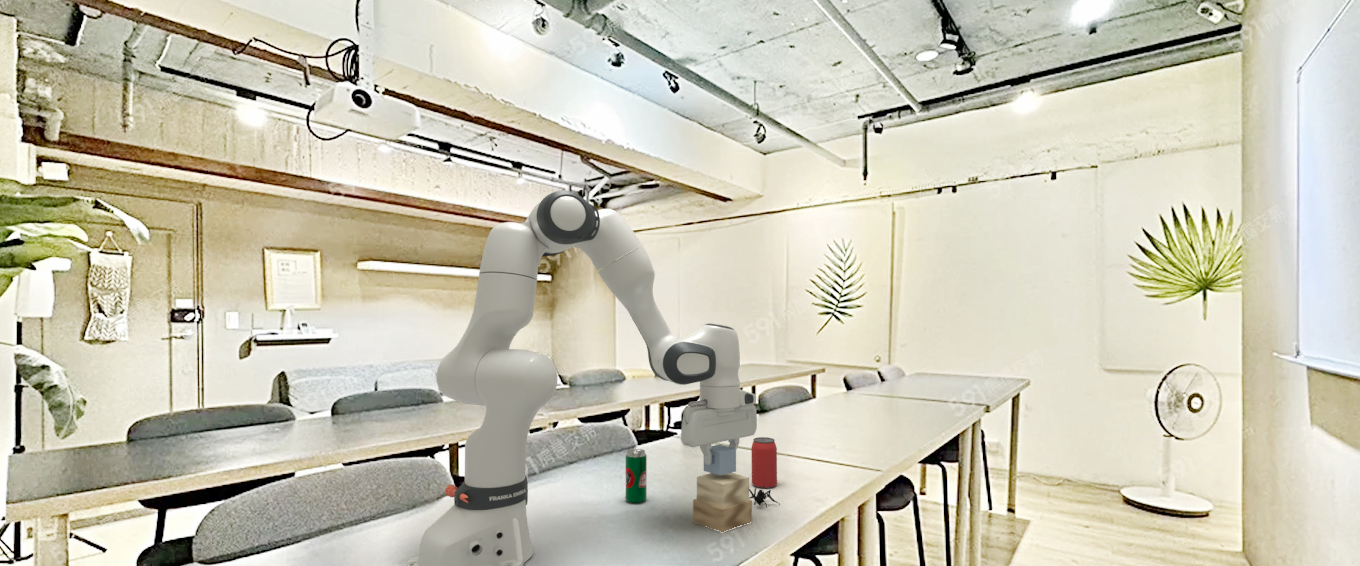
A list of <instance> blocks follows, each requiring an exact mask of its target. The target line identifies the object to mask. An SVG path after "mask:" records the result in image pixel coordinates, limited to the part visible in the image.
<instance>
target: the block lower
mask: <svg viewBox="0 0 1360 566" xmlns="http://www.w3.org/2000/svg"><path fill="white" fill-rule="evenodd" d="M751 500H752V499H750V500H749V501H747V502H744V503H741V504H737V505H734V506H731V507H728V508H725V509H722V508H719V507H716V506H713V505H710V504H707V503H704V502H701V501H699V500H697V498H694V499H692V521H693V523H695V524H697V523H698V525H701V526H702V525H703V526H702V527H705V526H707V527H706V528H708V527H709V528H708V529H710V528H712V529H711V530H713V529H716V530H719V531H721V532H724V531H726V530H729V529H732V528H734V527H737V526H740V525H744V524H747V523H750V522H752V523H753V520H752V519H753V515H752V514H753V511H752V508H753V507H752V505H753V504H752V501H751Z"/></svg>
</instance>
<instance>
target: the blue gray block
mask: <svg viewBox="0 0 1360 566" xmlns="http://www.w3.org/2000/svg"><path fill="white" fill-rule="evenodd" d="M709 450H710V452H711V455H714V456H715V459H714V461H715V463H714V464H710V465H707V464H705V463H704V462H703V471H704V472H707V473H708V474H710V473H713V474H716V475H719V476H720V475H724V474H728V473H735V472H737V449H736V448H732V447H729V445H728V446H727V445H723V444H716V445H711V449H709Z"/></svg>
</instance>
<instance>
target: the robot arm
mask: <svg viewBox="0 0 1360 566" xmlns="http://www.w3.org/2000/svg"><path fill="white" fill-rule="evenodd" d="M572 248H577V249H579V250H581V252H583V253H584V254H585V255H586V256H587V257H588V258H589V259H590V261H591V263H592V264H593V266H594V268H595V270H596V271H597V273H598V275H599V276H600V279H601V280H602V281H603V282H604V284H605V285H606V287H607V288H608V289H609V290H610V292H611V293H612V294H613V295H614V296H615V298H616V299H617V300H618V301H619V303H621V304H622V306H624V308H625V309H626V311H627V312H628V314H629V315H630V317H631V319H632V321H633V323H634V325H635V326H636V328H637V330H638V331H639V333H640V335H641V337H642V339H643V340H644V342H645V345H646V349H647V356H648V363H649V366H650V367H649V368H650V369H651V372H653V374H654V375H655V376H656V377H658V378H659V379H661V380H662V381H666V382H667V381H668V382H671V383H674V384H676V385H680V386H686V385H690V384H695V383H699V400H697V401H695V400H694V401H689V402H688V404H687V405H686V406H685V407H684V409H683V416H682V422H681V429H680V431H681V432H680V440H681V442H682V443H681V444H683V445H684V446H687V447H691V448H696V447H699V449H700V451H701V453H702V454H703V464H704V463H705V464H707V465H710V464H714V463H715V461H714V459H715V456H714V455H711V452H710V450H709V449H711V446H712V444H716V443H720V442H721V443H722V442H726V441H727V442H728V443H729V445H728V447H732V448H736V450H737V449H738V446H739V444H740V439H741V438H748V437H752V436H754V435H755V434H756V432H757V428H758V419H757V418H758V417H757V416H758V415H757V407H756V406H755V404H756V403H757V395H756V394H755V393H752V392H749V391H745V390H743V389H741V382H740V379H739V369H740V367H741V366H740V365H741V360H740V359H741V356H740V342H739V337H738V334H737V331H736V330H735V329H734V328H732V327H730V326H728V325H722V324H716V323H705V324H703V325H702V326H701V327H700V328H698V329H697V330H696V331H694V332H692V333H690V334H688V335H685V336H684V337H681V338H680V337H678V336H677V335H675V334H674V333H673V331H671V330H670V328H669V326H668V324H667V322H666V320H665V318H664V316H663V315H662V313H661V311H660V310H659V307H658V305H657V304H656V301H655V299H654V289H653V288H654V282H655V276H656V275H655V274H656V273H655V270H654V268H653V264H652V261H651V260H650V257H649V255H648V253H647V251H646V249H645V247H644V246H643V243H642V242H641V241H640V239H639V238H638V236H637V235H636V233H635V231H634V230H633V228H631V227H630V225H629V223H627V221H626V220H625V219H624V218H623V216H621V214H620V213H619V212H618V211H616V210H614V209H612V208H601V209H597V207H596V206H594V205H593V204H591V203H590V202H588V201H587V200H586V199H585V198H584V197H582V196H581V195H579V194H578V193H576V192H573V191H570V190H566V189H565V190H564V189H563V190H558V191H554V192H551V193H549V194H547V195H545V196H544V197H543V199H541V201H539V202H538V203H537V204H536V205H535V206H534V207H533V208H532V210H531V211H530V213H529V214H528V216H527V217H526V219H525V220H524V221H523V222H515V221H506V222H505V221H504V222H501V223H499V224H496V225H495V226H494V227H492V228H491V230H490V231H489V233H488V237H487V238H486V242H485V246H484V248H483V253H482V256H481V257H482V258H481V261H480V265H479V274H478V279H477V280H478V281H477V289H476V293H475V300H474V306H473V309H472V310H473V311H472V314H471V318H470V320H469V323H468V325H467V328H466V330H465V331H464V333H463V335H462V337H461V338H460V340H459V341H458V343H457V345H456V346H455V347H454V348H453V349H452V350H450V352H448V353H447V354H446V355H445V356H444V357H443V358H441V359H442V360H441V361H440V363H439V365H438V367H437V371H436V382H437V386H438V389H439V391H440V392H441V394H442V395H443V396H445V397H447V398H449V399H451V400H453V401H457V402H459V403H462V404H464V405H475V406H485V415H484V419H483V422H482V423H481V426H480V428H478V429H476V430H475V431H473V432H472V433H471V434H470V435H469V436H468V437H467V438H466V441H465V444H464V481H462V484H461V485H459V486H458V487H457V486H455V485H454V484H448V485H446V487H445V489H444V492H445V495H446V496H448V497H450V498H453V503H454V504H453V505H452V506H451V507H450V508H448V510H446V512H445V513H443V514H442V515H441V516H440V517H439V518H438V519H437V520H435V521H434V522H433V523H432V524H430V526H428V528H427V529H426V530H425V531H424V533H423V534H422V537H421V541H420V544H419V551H418V555H416V556H414V557H410V558H409V559H407V560H406V562H405V566H524V564H525V562H527V561H528V560H529V559H530V558H532V556H533V555H534V552H535V550H534V547H533V544H532V539H531V535H530V530H529V522H528V516H527V515H528V514H527V505H528V498H529V495H528V494H529V490H528V489H529V488H528V487H529V485H528V481H529V480H528V477H527V476H526V458H527V442H528V436H529V431H530V428H531V425H532V423H533V421H534V419H535V417H536V416H537V413H538V412H539V411H540V410H541V408H542V407H543V406H545V405H546V404H547V403H548V402H549V401H550V400H551V398H552V397H553V395H554V394H555V392H556V389H557V387H558V372H557V368H556V365H555V363H554V361H553V360H552V359H551V358H550V357H549V356H548V355H545V354H542V353H539V352H537V351H533V350H530V349H517V348H510V347H511V344H512V341H513V340H514V338H515V336H516V335H517V334H518V332H520V331H521V330H522V329H523V328H525V327H527V326H528V325H529V324H530V323H531V321H532V320H533V316H534V310H535V300H536V293H537V285H538V284H537V283H538V273H539V264H540V263H541V259H542V258H543V257H552V256H556V255H559V254H562V253H564V252H565V251H568V250H570V249H572Z"/></svg>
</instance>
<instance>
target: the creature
mask: <svg viewBox="0 0 1360 566" xmlns="http://www.w3.org/2000/svg"><path fill="white" fill-rule="evenodd" d="M764 484H765V483H764ZM763 487H764V486H763ZM764 490H765V489H759V490H758V492H757V487H755V488H754V491H752V490H751V489H750V488H749V494H751V496H749V500H751V499H753V501H754V503H753V506H754V505H755V506H756V504H757V505H758V507H760V506H761V504H763V503H764V504H765V507H766V508H768V507H769V506H771V505H768V504H767V502H766V501H765V500H766V499H767V498H768V499H770V500H771V501H772V502H773V503H776V504H779V505H781V503H779V502H778V501H777V500H775V499H774V498H773V497H772V496H771V491H772V490H771V489H769V490H767V491H766V492H765V491H764ZM753 492H754V493H753ZM756 493H757V494H756ZM767 506H768V507H767Z"/></svg>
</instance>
